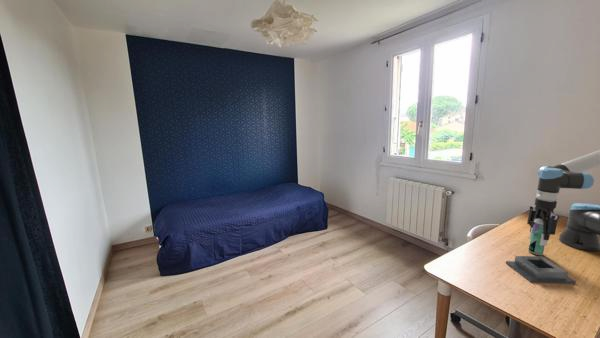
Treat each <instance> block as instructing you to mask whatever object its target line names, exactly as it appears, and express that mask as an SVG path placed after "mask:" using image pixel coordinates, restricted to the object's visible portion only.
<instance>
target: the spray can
mask: <svg viewBox="0 0 600 338" xmlns="http://www.w3.org/2000/svg"><path fill="white" fill-rule="evenodd" d="M547 232H548V231H547ZM542 233H544V228H543V220H542V217H541V216H540V217H539V218H537V219H535V220H534V224H533V229H532V234H531V239H529V240H530V241H529V244H528V245H529V246H528V252H529V253H531V254H533V255H535V256H537V255H538V256H543V255H544V251H545V246H541V245H540V240H541V235H542Z"/></svg>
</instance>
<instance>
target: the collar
mask: <svg viewBox="0 0 600 338" xmlns="http://www.w3.org/2000/svg"><path fill="white" fill-rule="evenodd" d="M505 264H506V265H508V266H509V267H511V269H513V270H514V271H516V272H517V273H518V274H519V275H521V276H522V277H523V278H524V279H526V280H527V281H528V282H530V283H543V284H544V283H545V284H549V283H550V284H572V285H573V284H575V285H576V284H577V281H576V280H574V279H573V278H572V277H570V276H568V274H569V272H568V271H567V270H565V269H563V268H561V267H560V266H558V265H557V264H555V263H554V262H552V261H550V260H549V259H548V258H545V257H543V256H540V255H538V256H537V255H535V256H531V255H529V256H527V255H515V257H514V260H513V261H511V260H510V261H509V260H506V261H505Z"/></svg>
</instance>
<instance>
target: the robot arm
mask: <svg viewBox="0 0 600 338" xmlns="http://www.w3.org/2000/svg"><path fill="white" fill-rule="evenodd" d="M597 168H600V149H598V150H596V151H593V152H591V153H587V154H585V155H582V156H578V157H576V158H573V159H571V160H568V161H565V162H562V163H560V164H556V165H554V166H552V165H551V166H550V165H543V166H541V167H540V168H539V169H538V170H537V176H538V178H539V179H538V182H537V183H538V185H537V189H536V195H535V197H536V198H535V200H534V206H533V205H532V206H529V213H528V217H527V225H529V227H530V228H529V237H528V239H529V240H530V239H531V234H532V229H533V224H534V220H535V219H537V218H539V217H540V216H541V217H542V220H543V228H544V233H542V235H541V240H540V245H541V246H547V245H548V241H549V240H550V236H552V235H553V236H554V235H556V231H557V226H558V225H557V224H558V220H559V219H560V216H559V215H556V214H555V211H554V210H555V209H556V208H557V203H558V202H557V201H558V199H559V195H560V194H559V193H560V190H561V189H575V190H576V189H577V190H583V189H584V190H586V189H589V188H592V186H594V182H595V179H594V177H593V175H592V174H590V173H585V172H588V171H590V170H594V169H597ZM566 223H567V224H566V227H565V228H564V230H563V231H562V232H561V234H559V236H558V237H559V238H558V241H559V242H561V243H562V244H564V245H566V246H569V247H571V248H574V249H578V250H582V251H587V252H599V251H600V205H599V204H594V203H584V202H576V203H572V205H571V206H570V209H569V214H568V218H567V222H566ZM547 231H548V232H547Z"/></svg>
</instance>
